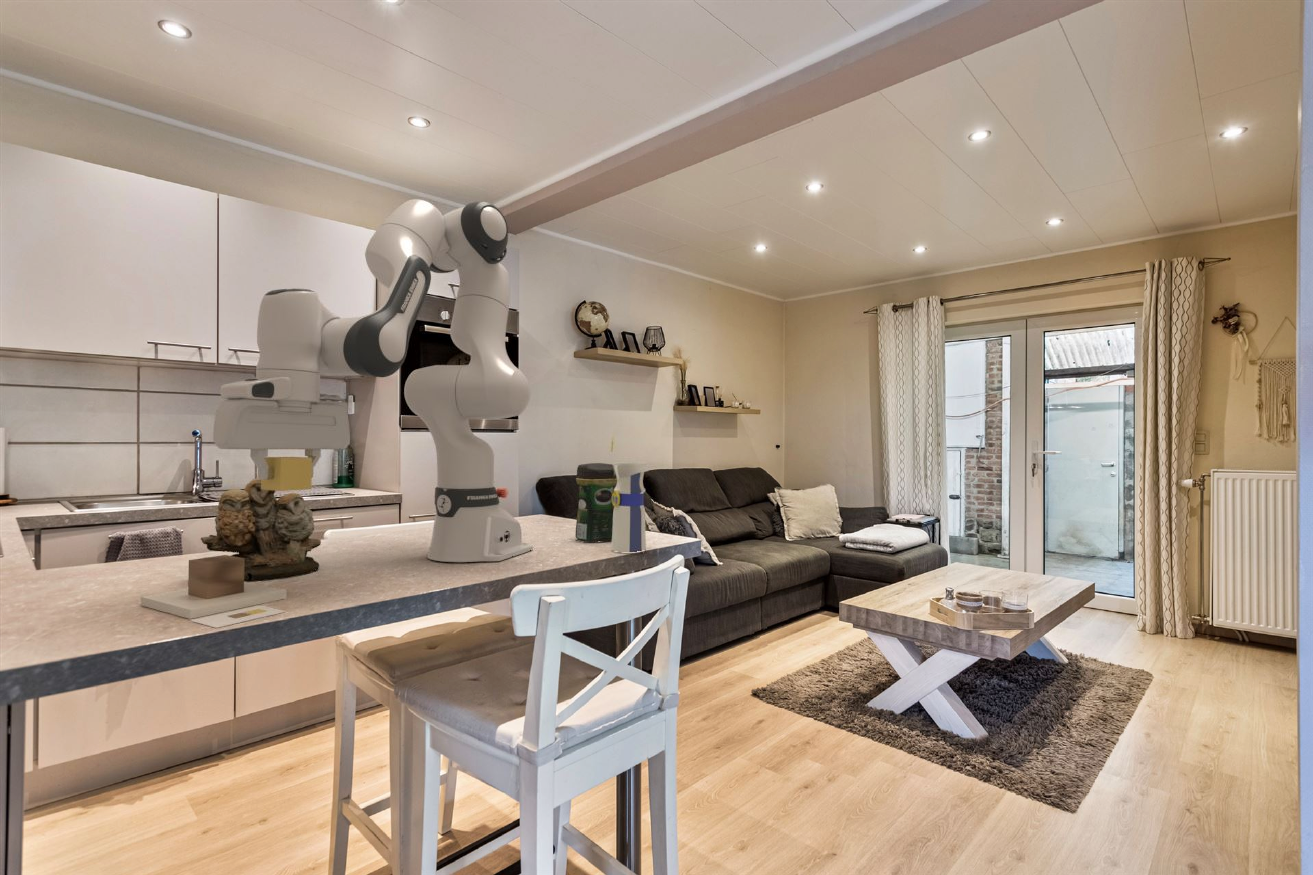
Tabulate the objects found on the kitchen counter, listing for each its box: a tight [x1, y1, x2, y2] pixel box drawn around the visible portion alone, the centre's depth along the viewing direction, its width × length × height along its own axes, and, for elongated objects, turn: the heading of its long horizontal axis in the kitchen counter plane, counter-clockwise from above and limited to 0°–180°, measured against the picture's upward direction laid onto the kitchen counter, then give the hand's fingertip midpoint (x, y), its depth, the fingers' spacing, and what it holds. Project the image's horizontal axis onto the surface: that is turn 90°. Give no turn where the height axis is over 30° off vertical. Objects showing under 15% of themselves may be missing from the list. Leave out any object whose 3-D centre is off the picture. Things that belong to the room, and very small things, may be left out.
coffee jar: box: [575, 462, 617, 543], centre depth 158 cm, size 10×8×19 cm
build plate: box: [140, 581, 287, 620], centre depth 96 cm, size 13×13×1 cm
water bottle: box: [610, 437, 650, 552], centre depth 144 cm, size 8×9×25 cm
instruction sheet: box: [190, 604, 286, 629], centre depth 88 cm, size 9×6×1 cm, turn 152°
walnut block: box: [187, 554, 245, 599], centre depth 96 cm, size 5×5×5 cm
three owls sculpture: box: [200, 477, 322, 582], centre depth 115 cm, size 18×12×17 cm, turn 133°
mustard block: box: [261, 456, 313, 492], centre depth 103 cm, size 5×5×5 cm
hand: (286, 478), depth 103 cm, fingers closed on mustard block, 5 cm apart
